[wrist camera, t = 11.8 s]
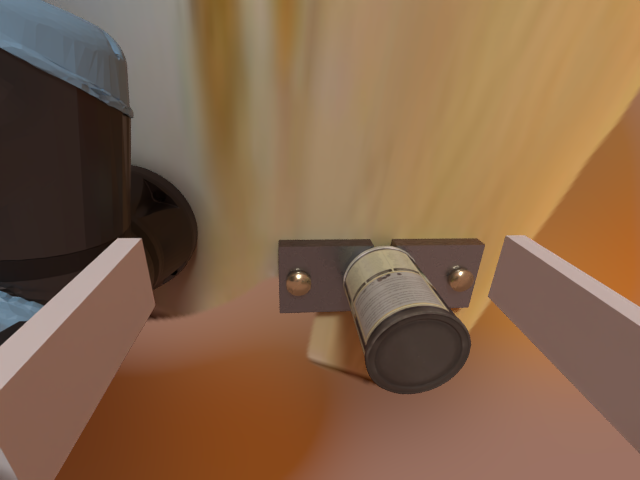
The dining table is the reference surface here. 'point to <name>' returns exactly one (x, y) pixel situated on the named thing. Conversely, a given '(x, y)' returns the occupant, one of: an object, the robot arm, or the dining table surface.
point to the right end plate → (447, 265)
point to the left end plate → (316, 273)
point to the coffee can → (403, 323)
